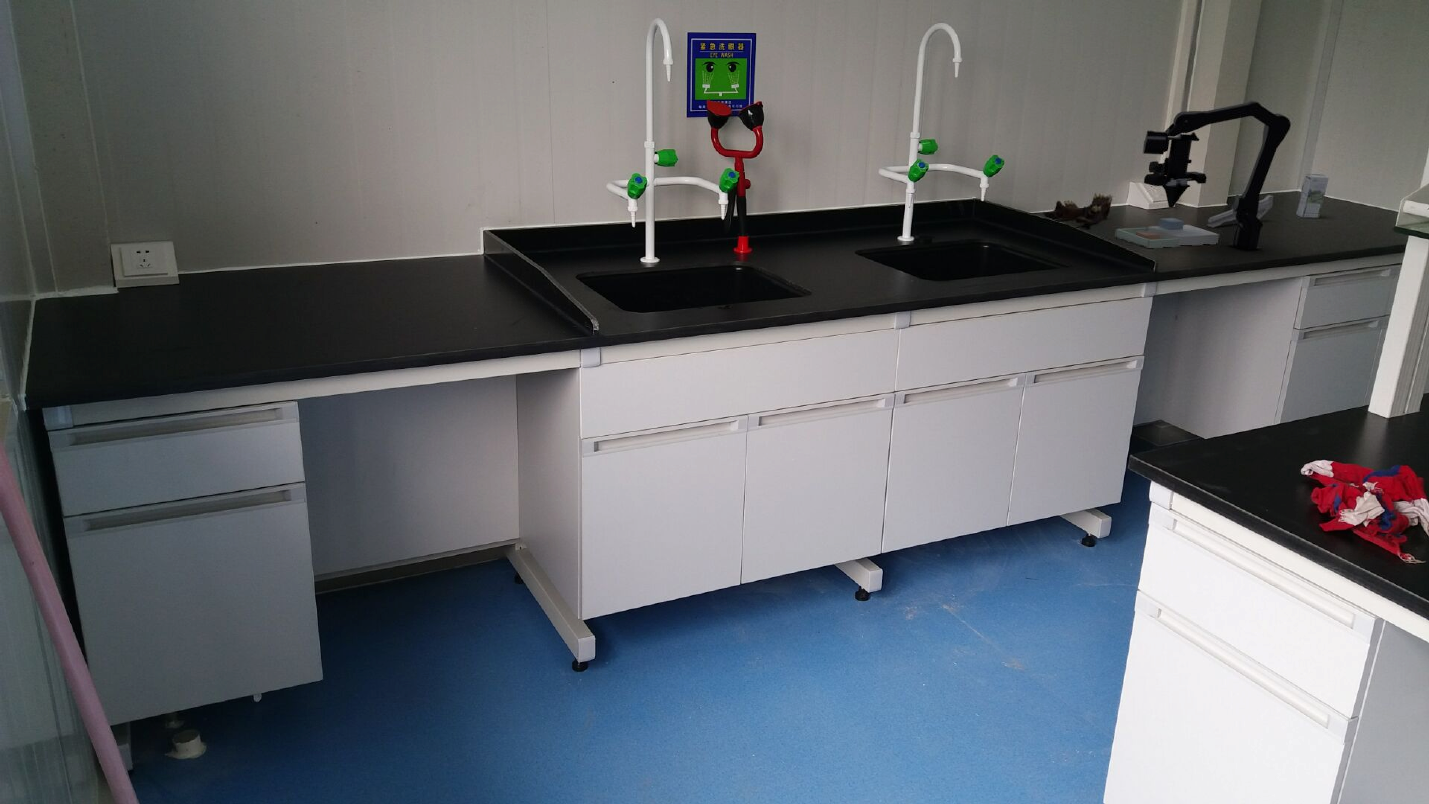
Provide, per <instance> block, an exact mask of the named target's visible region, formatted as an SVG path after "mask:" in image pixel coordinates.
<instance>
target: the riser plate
mask: <svg viewBox="0 0 1429 804" xmlns="http://www.w3.org/2000/svg"><path fill="white" fill-rule="evenodd" d="M1147 231H1151V232H1154V233H1157V234H1160V239H1176V238H1178V239H1179V244H1178V245H1179V246H1178V247H1181V246H1180V245H1192V246H1204V245H1203V244H1210V245H1217V244H1218V241H1219V237H1220V234H1219V233H1216V232H1212V231H1210V230H1206V229H1203V228H1200V227H1196V226H1193V225H1190V224H1184V225H1183V229H1180V230H1168V229H1165V228H1161V227H1159V225H1154V226H1153V225H1152V226H1148V227H1147ZM1216 243H1217V244H1216Z"/></svg>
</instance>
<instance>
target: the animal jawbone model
mask: <svg viewBox="0 0 1429 804" xmlns="http://www.w3.org/2000/svg"><path fill="white" fill-rule="evenodd" d="M1113 197H1114V196H1113V195H1112V194H1107V195H1106V196H1104V194H1102V195H1101V193H1098V194H1097V193H1096V192H1095V193H1094V195H1093V198H1092V201H1091V204H1089V205H1088V206H1083V207H1079V206H1077V204H1076V203H1075V201H1073V200H1068V199H1067V201H1066V200H1064V204H1063V203H1062V202H1061V201H1060V200H1057V201H1056V202H1055V203H1056V204H1055V208H1054V210H1052V211H1051V210H1050V211H1045V212H1042V214H1043V215H1044V217H1045V216H1046V217H1049V218H1052V219H1057V220H1066V221H1068V220H1069V221H1075V223H1076V224H1084V225H1083V226H1084V228H1089V229H1091V227H1092V225H1093V224H1096V223H1097V222H1100V221H1105V220H1106V219H1107V218H1108V216H1109V214H1110V212H1111V211H1110V210H1111V206H1112V202H1113Z"/></svg>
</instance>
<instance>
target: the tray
mask: <svg viewBox="0 0 1429 804" xmlns="http://www.w3.org/2000/svg"><path fill="white" fill-rule="evenodd" d="M1147 230H1148V227H1134V228H1133V227H1130V228H1116V229H1115V232H1114V238H1116V237H1117V239H1120V240H1122V239H1124V240H1123V241H1125V240H1126V241H1125V242H1127V241H1128V243H1130V242H1133V243H1136V244H1139V245H1144V246H1146V247H1147V248H1154V249H1164V248H1163V247H1172V248H1179V246H1178V244H1179V239H1178V238H1176V239H1157V240H1149V239H1146V238H1143V237H1140V236H1137V235H1136V232H1143V231H1147ZM1133 243H1132V244H1133ZM1136 244H1135V245H1136ZM1139 245H1138V246H1139ZM1147 248H1146V249H1147Z"/></svg>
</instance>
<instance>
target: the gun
mask: <svg viewBox="0 0 1429 804" xmlns="http://www.w3.org/2000/svg"><path fill="white" fill-rule="evenodd" d="M1273 200H1274V196H1273V195H1270V194H1267V195H1266V196H1265V197H1264V198H1263V199H1261V200H1259V207H1258V212H1257V218H1258V219H1259V220H1261V218H1262V217H1263V216H1264V215H1265V214H1267V212H1268V211H1269V210H1270V209H1271V208H1273V203H1274V201H1273ZM1234 220H1237V219H1236V218H1235V217H1234V215H1233V209H1232V208H1231V209H1229V210H1227V211H1225V212H1222V213H1219V214H1216V215H1214V216H1210V217H1209V219H1207V222H1208V223H1207V226H1208V228H1210V227H1211V228H1212V229H1213V228H1215V227H1218V226H1221V225H1222V224H1223V223H1226V222H1231V221H1234Z"/></svg>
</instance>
